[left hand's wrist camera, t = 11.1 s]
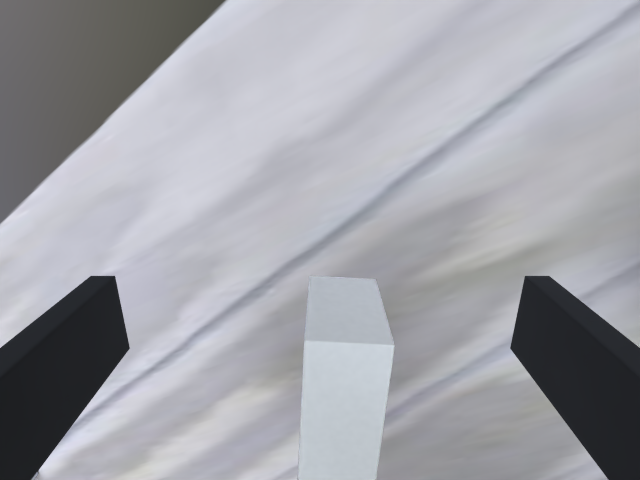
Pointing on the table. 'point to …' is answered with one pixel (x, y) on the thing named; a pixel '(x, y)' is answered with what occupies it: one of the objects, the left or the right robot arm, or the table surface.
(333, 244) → the table surface
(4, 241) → the table surface
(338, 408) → the bar
